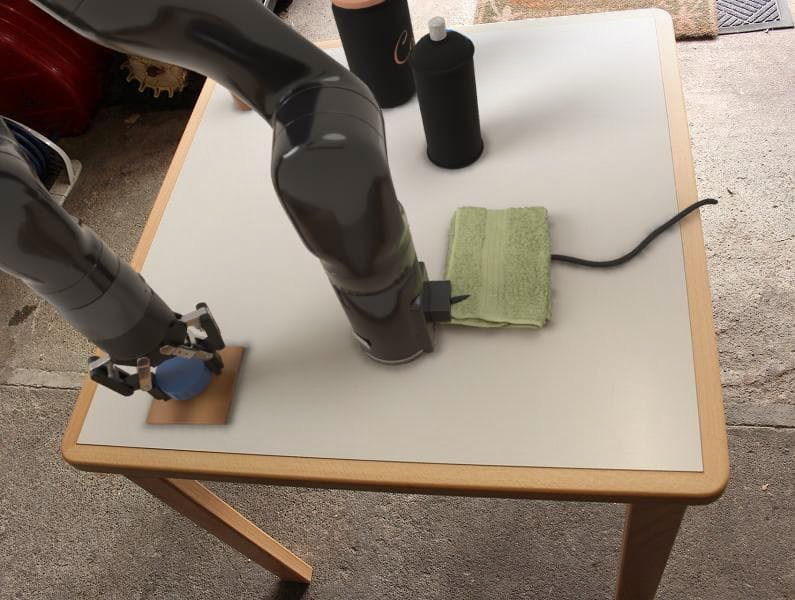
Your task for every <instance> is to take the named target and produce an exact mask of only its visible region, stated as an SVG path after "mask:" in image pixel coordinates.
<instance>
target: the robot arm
mask: <svg viewBox="0 0 795 600" xmlns="http://www.w3.org/2000/svg"><path fill="white" fill-rule="evenodd" d="M29 2H31V3H32V4H34V5H35V6H37V7H38V8H40V9H41V10H42V11H44V12H45V13H47V14H49V15H50V16H51V17H52V18H54V19H55V20H56V21H58V22H61V24H63V25H64V26H66V27H67V28H69V29H70V30H72V31H73V32H75V33H77V34H79V35H80V36H81V37H83V38H85V39H87V40H89V41H91V42H93V43H95V44H97V45H99V46H101V47H105V48H107V49H110V50H113V51H116V52H119V53H121V54H125V55H129V56H132V57H136V58H139V59H144V60H147V61H152V62H157V63H161V64H166V65H170V66H174V67H179V68H183V69H186V70H189V71H192V72H195V73H197V74H200V75H202V76H205V77H207V78H208V79H210V80H211V81H214V82H215V83H216V84H219V85H220V86H222V87H223V88H225V89H226V90H228V92H229V91H230V92H231V93H233V94H234V95H235V96H237V97H238V98H239V99H241V100H242V101H243V102H244V103H246V104H247V105H248V106H249V107H251V108H252V110H253V111H254V112H255V113H256V114H257V115H258V116H259V117H260V118H262V119H263V120H264V121H265V122H266V123H267V125H268V126H269V127H270V128H271V130H272V135H271V136H272V137H271V138H272V139H271V152H270V153H271V155H270V177H271V179H270V180H271V183H272V187H273V190H274V192H275V195H276V197H277V200H278V202H279V203H280V206H281V208H282V210H283V212H284V214H285V215H286V216H287V219H288V220H289V222H290V224H291V226H292V227H293V229H294V231H295V232H296V234H297V236H298V238H299V240H300V241H301V243H302V244H303V246H304V247H305V249H306V250H307V251H308V252H309V253H310V254H311V255H313V256H314V257H316V258H317V259H318V260H319V262H320V264H321V266H322V268H323V270H324V273H325V275H326V277H327V279H328V281H329V283H330V285H331V287H332V289H333V291H334V293H335V295H336V298H337V299H338V301H339V304H340V306H341V308H342V309H343V312H344V314H345V316H346V317H347V321H348V322H349V324H350V326H351V328H352V330H350V332H351V334H352V337H353V338H355V339H356V340H357V342H358V345H359V346H360V348H361V350H362V352H363V354H364V355H366V356H367V358H369V359H370V360H372V361H374V362H377V363H379V364H382V365H387V366H398V365H399V366H400V365H404V364H407V363H410V362H412V361H414V360H416V359H418V358H419V357H421V356H422V355H423V354H425V353H426V354H427V353H433V352H434V351H435V335H436V330H437V324H436V323H440V322H451V304H453V303H457V302H461V301H463V300H466V299H467V298H468V297H469V296H470V295H461V296H457V297H452V298H451V292H452V286H451V282H450V280H445V279H441V280H430V278H429V275H428V270H427V267H426V263H425V262H424V261H423V260H422V261H421V260H420V261H419V257H418V255H417V251H416V247H415V244H414V240H413V239H414V238H413V235H412V231H411V229H410V225H409V220H408V216H407V213H406V210H405V208H404V206H403V204H402V203H401V202H400V200H399V199H398V195H397V192H396V189H395V185H394V182H393V181H394V180H393V177H392V173H391V169H390V164H389V156H388V144H387V133H386V122H385V118H384V113H383V109H381V107H380V104H379V102H378V100H377V98H376V97H375V95H374V94H373V92H372V91H371V90H370V89H369V87H368V86H367V85H366V84H365V83H364V82H362V81H361V80H360V79H359V78H358V77H357V76H356V75H354V74H353V73H352V72H351V71H350V69H349V68H347V67H345V65H343V64H341V63H340V62H339V61H338V60H336V59H335V58H333V57H332V56H331V55H330V54H328V53H327V52H326V51H324V50H323V49H321V48H320V47H319V46H317V45H316V44H315V43H313V42H312V41H311V40H309V39H308V38H306V37H305V36H304V35H303V34H302V33H300V32H299V31H297V30H296V29H294V28H293V27H292V26H291V25H289V24H288V23H287V22H285V21H284V20H283V19H281V18H280V17H279V16H278V15H276V13H274V12H273V11H272V10H271V9H269V8H268V7H267V6H266V5H265V4H264V3H263V2H262V1H260V0H29ZM230 92H229V93H230ZM717 204H719V200H717V199H716V198H712V197H708V198H704V199H701V200H698V201H696V202H694V203H692V204H690V205H689V206H687V207H686V208H684V209H683V210H682V211H680V212H679V213H677V214H676V215H675V216H673V217H672V218H670V219H669V220H667V221H666V222H664V223H663V224H661V225H660V226H659V227H657V228H656V229H654V230H653V231H652V232H650V234H648V235H647V236H646V237H645V238H644V239H643V240H642V241H641V242H639V244H638V245H637V246H636V247H635V248H634V249H632V250H631V251H630V252H628V253H627V254H625V255H623V256H621V257H618V258H616V259H612V260H607V261H594V260H588V259H583V258H578V257H574V256H569V255H565V254H564V255H563V254H555V253H553V254H552V253H551V258H550V259H551V261H559V262H560V261H561V262H567V263H571V264H574V265H579V266H584V267H590V268H598V269H599V268H600V269H601V268H610V267H615V266H619V265H622V264H624V263H626V262H628V261H630V260H633V258H635V257H636V256H638V254H640V253H641V252H642V251H643V250H644V249H645V248H646V247H647V246H648V245H649V244H650V243H651V242H652V241H653V240H654V239H655V238H657V237H658V236H659V235H660V234H662V233H664V232H665V231H666V230H668V229H669V228H671V227H672V226H674V225H675V224H677V223H678V222H680V221H681V220H682V219H684V218H685V217H686V216H688V215H690V214H691V213H692V212H694V211H696V210H697V209H700V208H701V207H704V206H707V205H712V206H714V205H715V206H716V205H717ZM0 270H1V271H2V272H4V273H6V274H9V275H11V276H12V277H15V278H17V279H20V280H21V281H22V282H23V283H24V284H26V286H27V287H29V288H30V289H31V290H32V291H33V292H34V293H36V294H37V295H38V296H39V297H41V298H42V299H43V300H44V301H46V302H47V303H48V304H50V306H52V307H53V309H55V310H56V312H57V313H58V315H60V316H61V317H62V319H63V320H65V321H66V322H67V323H68V324H69V325H70V326H71V327H72V328H74V329H75V330H76V331H77V332H78V333H80V334H81V335H82V336H84V337H85V339H87V340H88V341H90V342H91V343H92V344H93V345H94V346H96V347H97V348H98V349H100V350H101V351H102V352H103V353H104V355H102V356H98V355H92V356H89V357H88V358H87V366H88V371H89V377H90V380H91V381H92V382H95V383H97V384H98V385H101V386H103V387H104V388H107V389H109V390H111V391H113V392H115V393H117V394H119V395H121V396H122V397H125V398H126V397H131V396H133V395H134V394H135V391H139V390H140V391H141V392H146V393H147V394H149V395H150V396H151V397H152V398H155V399H157V400H161V399H163V400H164V401H165V402H166V401H168V400H170V399H171V398H170V397H169V396H168V395H166V394H165V393H164V392H163V391H162V390H161V389H160V388H159V387H158V386H157V382H156V378H155V372H153V371H152V370H151V368H152V369H154V368H157V366H159V365H160V364H162V363H163V362H164V361H166V360H169V359H172V358H174V357H176V356H179V357H183V358H186V359H192V358H193V357H194V358H198V359H202V360H203V362H204V364H205V365H206V366H207V367H208V368H209V369H210V370H211V371H212V372H213V373H214V374H215V375H216V376H217V375H219V374H221V373H222V370H221V369H222V368H224V364H223V361H222V359H221V356H220V355H219V354H218V352H217V351H219V350H222V349H224V348H225V346H226V344H225V341H224V339H223V336H222V332H221V330H220V327H219V325H218V323H217V321H216V319H215V318H214V315H213V314H212V311H211V310H210V308H209V305H208V304H207V303H206V302H204V301H201V302H198V303H197V304H196V305H195V310H194V311H192V312H188V313H187V314H182V313H179V312H176V311H173V310H172V308H170V307H169V305H168V304H167V303H166V302H165V301H164V300H163V299H162V297H161V296H159V294H158V293H157V292H156V291H155V290H154V288H152V287H151V286H150V285H149V283H148V282H147V281H146V279H145V277H143V275H142V274H141V273H140V272H138V271H136V269H134V268H133V266H132V265H130V264H129V263H128V262H127V261H126V260H124V259H123V258H121V257H120V256H119V255H118V254H117V253H116V252H115V251H114V250H113V249H112V248H111V247H110V246H109V245H108V244H107V243H106V241H105V240H103V238H102V237H101V236H100V235H99V234H98V233H97V232H96V231H95V230H94V229H93V228H92V227H91V226H90V225H89V224H87V222H85V221H84V220H82V219H81V218H79V217H78V216H76V215H73V214H70V213H68V212H67V210H66V209H65V208H64V207H62V205H61V204H60V203H59V202H58V200H56V198H55V197H54V196H53V195H52V193H51V192H50V191H49V190H48V189H47V187H46V185H44V183H43V182H42V181H41V179H40V177H39V175H38V173H37V172H36V170H35V168H34V167H33V165H32V162H31V161H30V160H29V157H28V155H27V153H26V152H25V150H24V149H23V147H22V146H21V144H20V142H19V141H18V139H17V138H16V137H15V135H14V133H13V132H12V131H11V129H10V127H9V126H8V125H7V123H6V122H5V121H4V119H3V117H2V116H1V115H0ZM188 327H194V328H195V329H196V330H199V332H201V333H202V332H204V333H205V334H206V337H205V336H201V335H198V334H195V333H194V332H193V331H192V330H191V329H189V328H188ZM216 350H217V351H216ZM118 366H122V367H133V368H135V369H136V370H135V371H136V373H132V374H131V373H130V372H128V371H126V370H124V369H123V368H120V367H118Z"/></svg>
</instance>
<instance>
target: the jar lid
mask: <svg viewBox="0 0 795 600" xmlns="http://www.w3.org/2000/svg"><path fill="white" fill-rule="evenodd" d="M155 368H156V369H155V372H154V374H155V378H156V382H157V386H158V387H159V388H160V389H161V390H162V391H163V392H164V393H165V394H166V395H168V396H169V397H170V398H171V399H175V400H180V401H181V400H187V399H191V398H193V397H194V396H196V395H198V394H199V393H200V392H202V391H203V390H204V389H205V387H206V386H207V385H208V383H209V381H210V379H211V376H212V371H211V370H210V369H209V368H208V367H207V366H206V365H205V364H204V362H203V360H202V359H198V358H194V357H193V358H192V359H186V358H183V357H179V356H176V357H174V358H172V359H169V360H166V361H164V362H163V363H162V364H160V365H159V366H157V367H155Z"/></svg>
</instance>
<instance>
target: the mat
mask: <svg viewBox="0 0 795 600" xmlns="http://www.w3.org/2000/svg"><path fill="white" fill-rule="evenodd" d="M245 349H246V348H245V347H244V346H243V345H235V346H234V345H232V346H231V345H227V346H226V345H225V348H224V349H222V350H219V351H217V350H216V351H217V352H218V354H219V355H220V356H221V359H222V361H223V364H224V368H222V369H221V370H222V373H221V374H219V375H217V376H216V375H215V374H214V373H213V372H212V376H211V379H210V381H209V383H208V385H207V386H206V387H205V389H204V390H203V391H202V392H200V393H199V394H198V395H196V396H194V397H193V398H191V399H187V400H181V401H180V400H175V399H170V400H168V401H166V402H165V401H164V400H163V399H161V400H157V399H155V398H154V397H152V400H151V403H150V407H149V410H148V413H147V416H146V419H145V424H147V425H199V426H201V425H202V426H203V425H207V426H209V425H213V426H214V425H215V426H222V425H223V426H226V425H227V422H228V418H229V414H230V409H231V405H232V401H233V397H234V394H235V389H236V385H237V382H238V377H239V374H240V370H241V365H242V362H243V357H244V353H245Z"/></svg>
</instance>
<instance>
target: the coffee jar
mask: <svg viewBox="0 0 795 600" xmlns="http://www.w3.org/2000/svg"><path fill="white" fill-rule="evenodd" d="M329 1H330V2H331V5H330V6H331V12H332V15H333V18H334V22H335V25H336V29H337V31H338V36H339V39H340V43H341V45H342V48H343V53H344V56H345V59H346V62H347V65H348V70H349V71H351V72H352V73H353V74H354V75H356V76H357V77H358V78H359V79H360V80H361V81H362V82H364V83H365V84H366V85H367V86H368V87H369V89H370V90H371V91H372V92H373V94H374V95H375V97H376V98H377V100H378V102H379V104H380V107H381V110H385V109H393V108H395V107H399V106H402V105H403V104H405V103H407V102H408V101H410V100H411V99H412V98H413V97H414V96H415V95H416V94H417V92H416V87H415V81H414V76H413V71H412V68H411V66H410V65H409V62H408V55H409V53H410V51H411V49H412V47H413V46H414V45H415V44H416V39H415V33H414V27H413V23H412V17H411V13H410V7H409V1H408V0H329Z"/></svg>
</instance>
